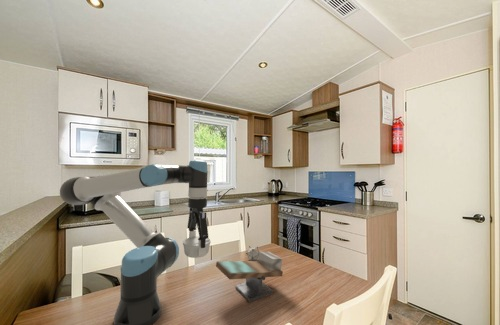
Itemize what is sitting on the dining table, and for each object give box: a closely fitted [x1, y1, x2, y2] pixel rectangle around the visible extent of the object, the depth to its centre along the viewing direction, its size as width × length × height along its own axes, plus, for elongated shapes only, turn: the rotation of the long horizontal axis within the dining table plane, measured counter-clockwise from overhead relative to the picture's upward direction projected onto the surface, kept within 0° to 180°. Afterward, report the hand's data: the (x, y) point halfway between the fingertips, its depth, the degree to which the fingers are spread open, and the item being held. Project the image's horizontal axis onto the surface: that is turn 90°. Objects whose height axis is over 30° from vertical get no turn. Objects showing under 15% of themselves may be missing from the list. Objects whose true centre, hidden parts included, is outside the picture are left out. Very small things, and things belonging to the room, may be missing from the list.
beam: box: [215, 250, 284, 281], centre depth 94 cm, size 27×15×8 cm, turn 123°
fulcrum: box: [235, 278, 274, 303], centre depth 95 cm, size 12×12×7 cm
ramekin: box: [182, 236, 211, 259], centre depth 89 cm, size 11×11×5 cm
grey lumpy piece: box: [245, 245, 259, 261], centre depth 126 cm, size 9×8×10 cm
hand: (196, 250), depth 89 cm, fingers closed on ramekin, 11 cm apart
